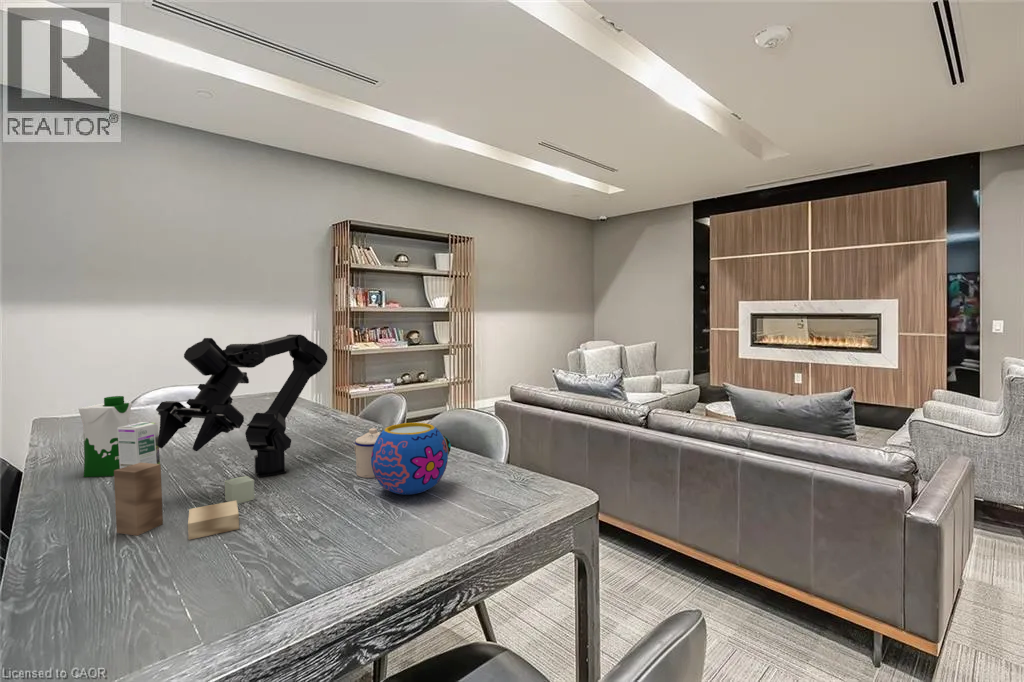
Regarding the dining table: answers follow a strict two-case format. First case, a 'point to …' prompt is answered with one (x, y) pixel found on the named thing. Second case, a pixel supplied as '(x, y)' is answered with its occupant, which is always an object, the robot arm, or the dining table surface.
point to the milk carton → (103, 435)
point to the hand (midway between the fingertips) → (176, 448)
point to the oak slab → (213, 519)
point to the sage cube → (239, 489)
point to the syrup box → (138, 444)
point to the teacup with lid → (365, 453)
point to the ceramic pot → (410, 457)
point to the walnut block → (138, 498)
